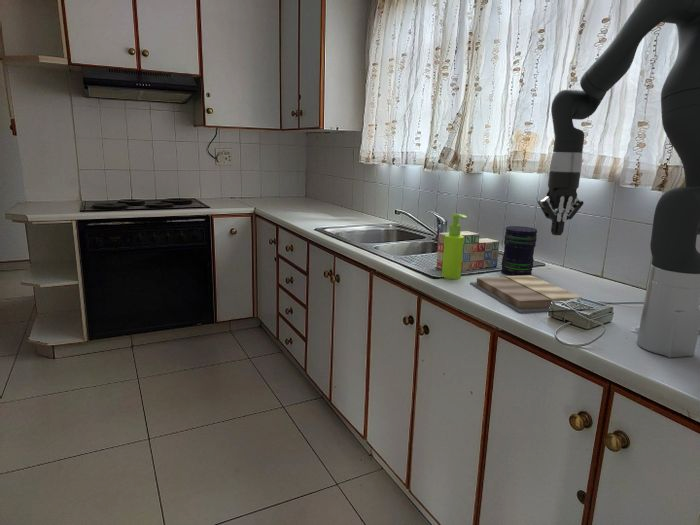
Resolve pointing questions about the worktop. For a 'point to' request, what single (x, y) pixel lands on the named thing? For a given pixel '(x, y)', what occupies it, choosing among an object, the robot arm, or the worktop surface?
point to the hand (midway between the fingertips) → (556, 234)
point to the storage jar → (518, 251)
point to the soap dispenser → (453, 250)
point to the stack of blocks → (472, 251)
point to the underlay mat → (523, 310)
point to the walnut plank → (513, 292)
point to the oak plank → (543, 288)
